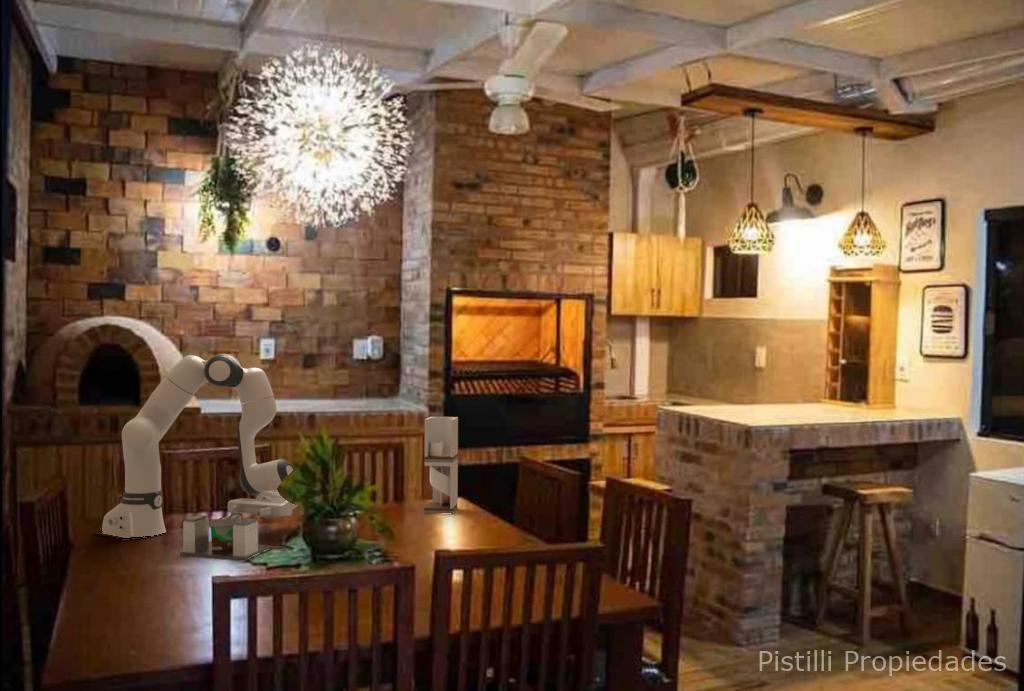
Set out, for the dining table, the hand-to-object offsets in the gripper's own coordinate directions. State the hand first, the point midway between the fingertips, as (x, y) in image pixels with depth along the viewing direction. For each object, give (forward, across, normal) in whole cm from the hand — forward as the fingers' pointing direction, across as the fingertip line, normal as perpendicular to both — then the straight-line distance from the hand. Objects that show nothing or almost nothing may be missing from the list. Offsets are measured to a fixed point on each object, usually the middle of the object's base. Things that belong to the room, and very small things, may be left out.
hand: (245, 511), depth 287 cm
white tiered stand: (-71, +39, +10) cm, 81 cm away
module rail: (+11, 0, +10) cm, 16 cm away
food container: (+11, +1, +10) cm, 14 cm away
